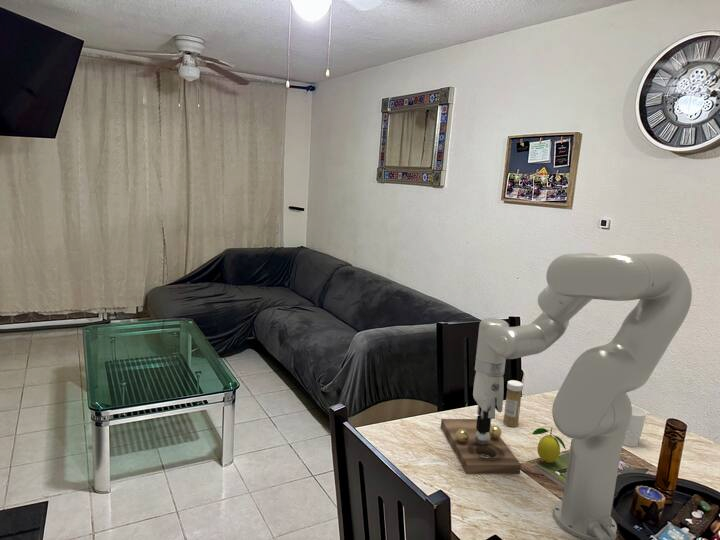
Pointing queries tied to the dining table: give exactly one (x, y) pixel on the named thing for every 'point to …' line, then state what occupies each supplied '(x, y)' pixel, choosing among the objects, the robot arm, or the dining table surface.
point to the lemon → (548, 446)
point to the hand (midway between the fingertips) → (482, 430)
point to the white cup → (635, 427)
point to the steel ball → (482, 438)
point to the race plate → (479, 450)
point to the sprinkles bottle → (512, 403)
